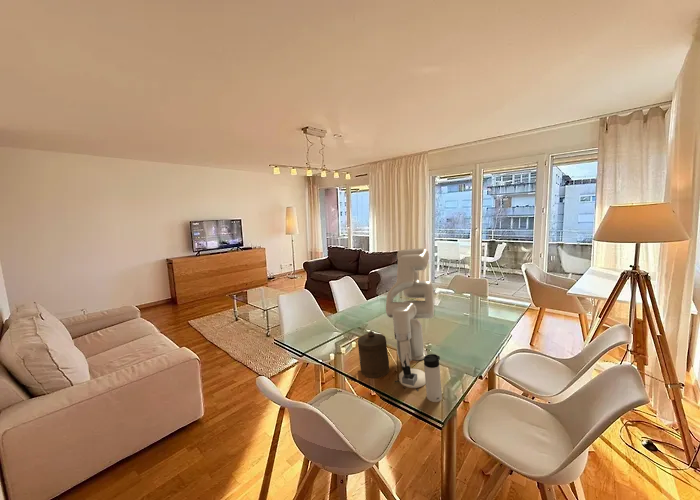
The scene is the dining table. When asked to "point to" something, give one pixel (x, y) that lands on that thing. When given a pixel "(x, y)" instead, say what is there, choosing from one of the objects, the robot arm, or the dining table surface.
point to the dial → (416, 381)
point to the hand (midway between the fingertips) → (406, 371)
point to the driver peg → (409, 374)
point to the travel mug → (433, 377)
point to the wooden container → (373, 355)
